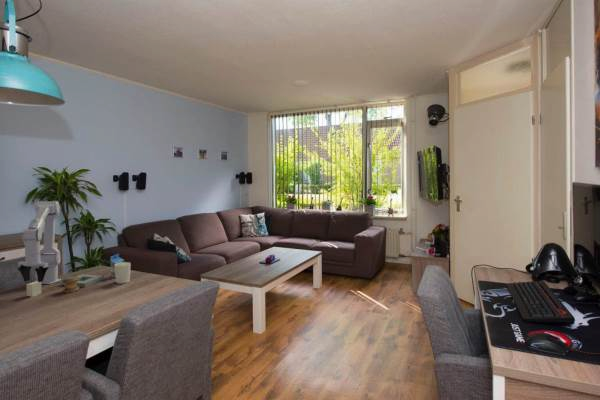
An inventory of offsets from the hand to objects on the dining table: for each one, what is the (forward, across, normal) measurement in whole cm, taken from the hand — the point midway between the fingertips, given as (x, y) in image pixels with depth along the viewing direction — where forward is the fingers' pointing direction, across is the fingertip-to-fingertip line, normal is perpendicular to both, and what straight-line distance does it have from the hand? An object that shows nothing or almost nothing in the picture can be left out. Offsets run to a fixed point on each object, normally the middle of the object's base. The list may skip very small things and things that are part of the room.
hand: (33, 281), depth 167 cm
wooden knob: (+7, +12, +9) cm, 17 cm away
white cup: (+7, +28, +27) cm, 40 cm away
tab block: (+7, 0, 0) cm, 7 cm away
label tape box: (+7, +18, +37) cm, 42 cm away
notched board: (+7, +8, +22) cm, 24 cm away
